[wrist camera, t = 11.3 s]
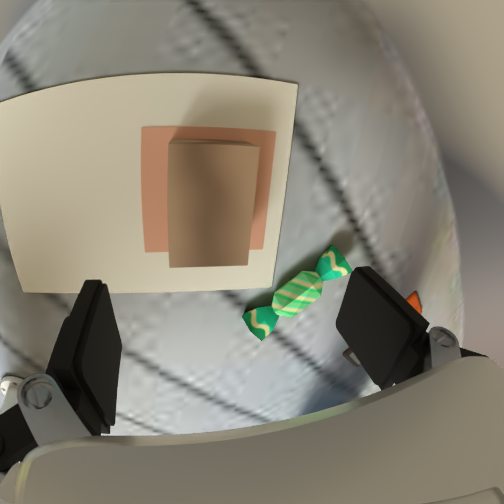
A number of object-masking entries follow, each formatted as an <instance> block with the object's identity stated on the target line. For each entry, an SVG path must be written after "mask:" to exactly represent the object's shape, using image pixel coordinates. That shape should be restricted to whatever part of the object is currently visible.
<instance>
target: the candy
mask: <svg viewBox="0 0 504 504" xmlns="http://www.w3.org/2000/svg"><path fill="white" fill-rule="evenodd" d="M351 272H352V269H351V268H350V266H349V264H348V263H347V261H346V260H345V258H344V257H343V256H342V255H341V254H340V252H339V251H338V250H337V249H336V248H335V247H334V245H331V247H330V248H329V249H328V250H327V251H326V252H325V253H324V254H323V255H322V256H321V257H320V258H319V261H318V264H317V266H316V269H315V272H313V271H301V272H300V273H299V274H297V275H296V276H295V277H293V278H292V279H291V280H290V281H288V282H287V283H286V284H284V285H283V286H282V287H280V288H279V289H278V290H277V291H275V293H274V296H273V302H272V305H271V306H265V307H259V308H256V309H253V310H250V311H248V312H245V313H244V314H243V315H242V318H243V319H244V321H245V323H246V324H247V326H248V328H249V330H250V331H251V332H252V333H253V334H254V335H255V336H257V337H258V338H259V339H260V340H261V341H262V340H263V339H264V338H265V337H266V336H267V335H268V334H269V333H271V332H272V331H273V329H274V327H275V325H276V322H277V320H278V318H279V315H280V316H285V317H291V318H292V317H293V316H295V315H296V314H297V313H299V312H300V311H301V310H303V309H304V308H305V307H307V306H308V305H309V304H311V303H312V302H313V301H315V300H316V299H317V298H319V297H320V296H321V292H322V285H323V281H326V280H331V279H336V278H339V277H341V276H344V275H346V274H349V273H351Z"/></svg>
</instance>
